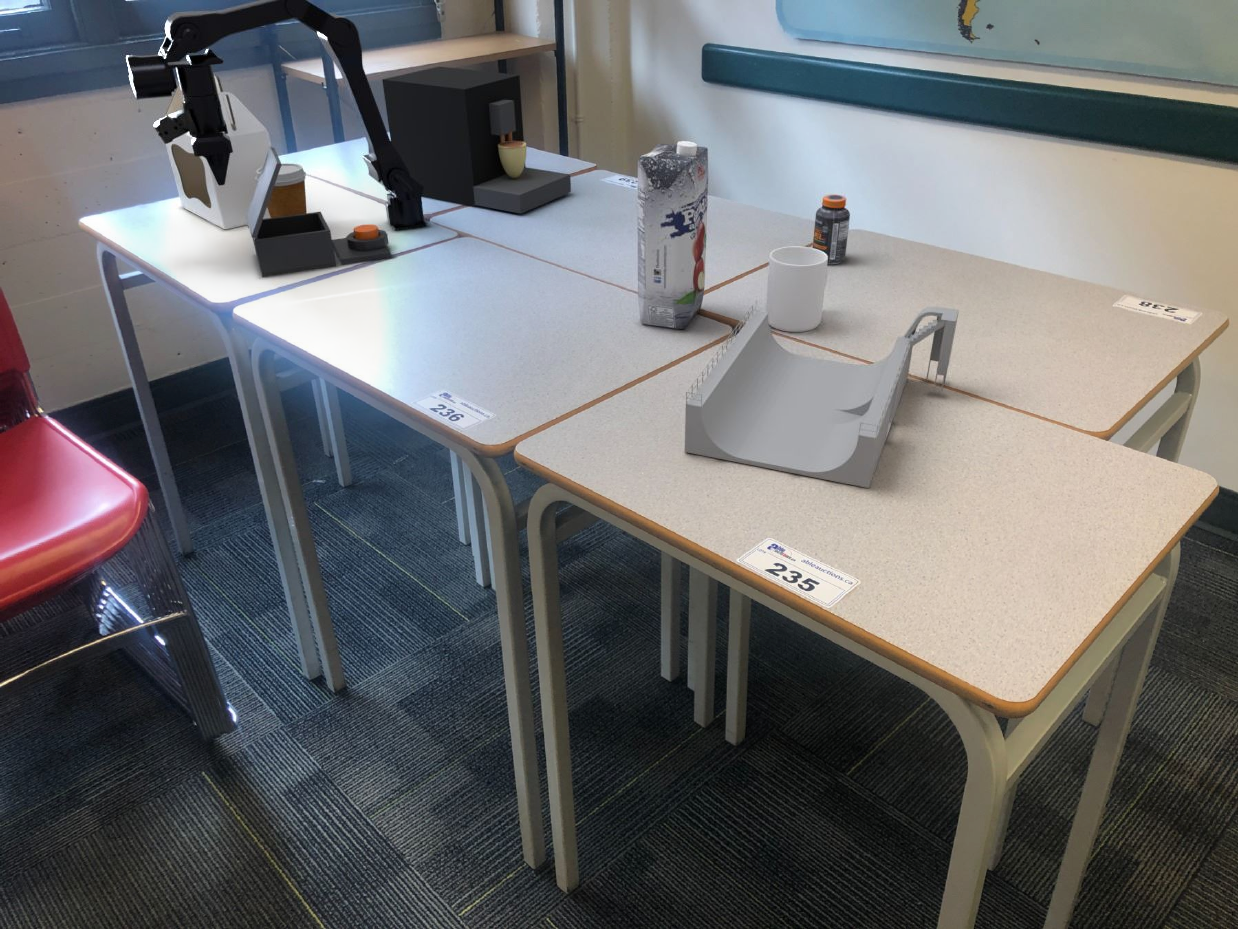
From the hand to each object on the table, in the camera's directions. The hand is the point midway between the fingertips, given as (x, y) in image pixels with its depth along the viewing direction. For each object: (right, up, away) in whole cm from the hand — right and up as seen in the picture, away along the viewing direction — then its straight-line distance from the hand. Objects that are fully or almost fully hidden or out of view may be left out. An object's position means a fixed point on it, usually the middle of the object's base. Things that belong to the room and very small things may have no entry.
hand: (221, 184), depth 172 cm
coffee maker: (+42, +9, +39) cm, 58 cm away
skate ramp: (+98, -45, -49) cm, 118 cm away
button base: (+23, -11, +7) cm, 27 cm away
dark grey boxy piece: (+12, -13, +3) cm, 18 cm away
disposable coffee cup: (+6, -4, +19) cm, 20 cm away
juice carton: (+80, -28, -22) cm, 87 cm away
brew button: (+25, -8, +6) cm, 27 cm away
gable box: (-10, +3, +30) cm, 32 cm away
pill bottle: (+110, -14, 0) cm, 110 cm away
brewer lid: (+10, -3, -5) cm, 11 cm away
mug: (+100, -28, -23) cm, 106 cm away
